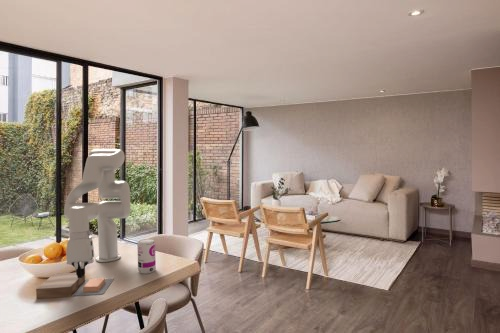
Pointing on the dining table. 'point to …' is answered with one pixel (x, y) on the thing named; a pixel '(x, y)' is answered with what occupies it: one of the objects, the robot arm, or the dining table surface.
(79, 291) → the mat
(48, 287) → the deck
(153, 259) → the supplement can
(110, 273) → the dining table surface
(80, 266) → the robot arm
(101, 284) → the peach rectangular tile
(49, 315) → the dining table surface
